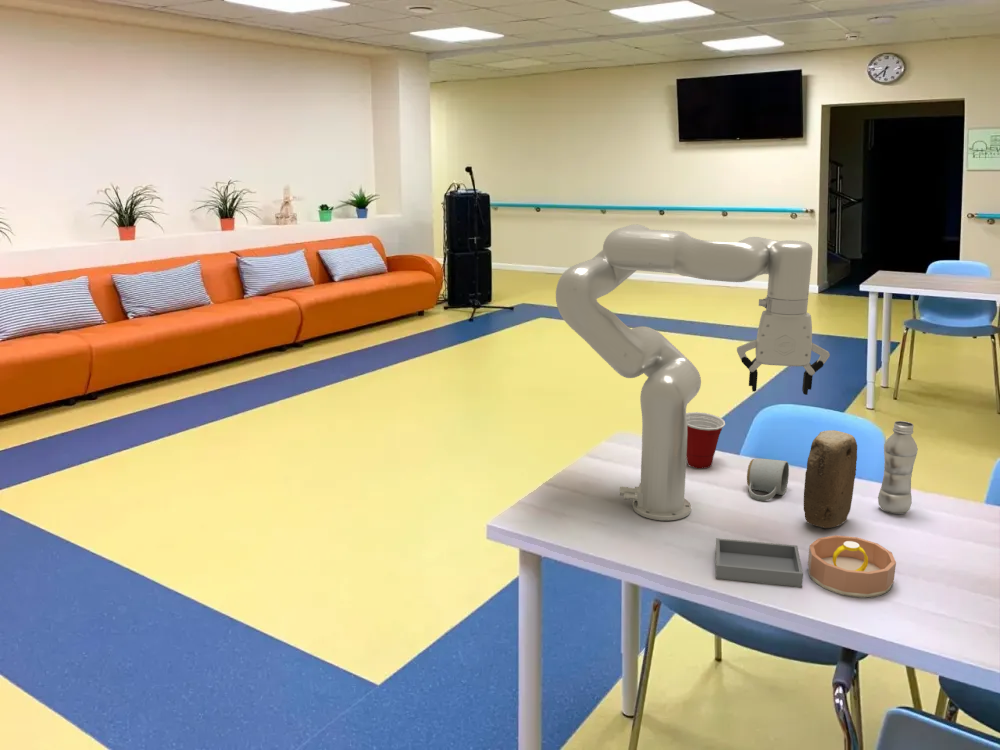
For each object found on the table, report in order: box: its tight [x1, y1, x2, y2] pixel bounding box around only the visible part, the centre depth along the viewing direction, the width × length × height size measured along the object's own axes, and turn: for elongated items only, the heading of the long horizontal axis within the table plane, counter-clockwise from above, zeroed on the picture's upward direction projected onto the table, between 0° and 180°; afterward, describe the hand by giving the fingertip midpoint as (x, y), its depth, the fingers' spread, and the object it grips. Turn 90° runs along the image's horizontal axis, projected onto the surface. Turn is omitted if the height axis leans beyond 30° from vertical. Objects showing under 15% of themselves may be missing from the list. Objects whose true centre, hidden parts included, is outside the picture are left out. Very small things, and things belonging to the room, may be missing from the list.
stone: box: [803, 429, 858, 529], centre depth 180 cm, size 12×7×20 cm, turn 133°
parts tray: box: [715, 537, 804, 588], centre depth 165 cm, size 15×11×3 cm
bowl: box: [807, 534, 897, 598], centre depth 161 cm, size 14×14×5 cm
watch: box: [832, 541, 868, 571], centre depth 160 cm, size 6×3×6 cm, turn 81°
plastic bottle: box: [877, 420, 919, 515], centre depth 185 cm, size 6×7×20 cm
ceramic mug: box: [746, 458, 790, 502], centre depth 197 cm, size 11×8×8 cm
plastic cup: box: [686, 411, 726, 469], centre depth 213 cm, size 11×11×12 cm
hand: (779, 391), depth 172 cm, fingers open, 9 cm apart
